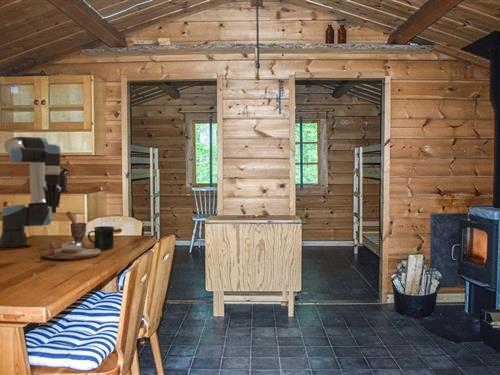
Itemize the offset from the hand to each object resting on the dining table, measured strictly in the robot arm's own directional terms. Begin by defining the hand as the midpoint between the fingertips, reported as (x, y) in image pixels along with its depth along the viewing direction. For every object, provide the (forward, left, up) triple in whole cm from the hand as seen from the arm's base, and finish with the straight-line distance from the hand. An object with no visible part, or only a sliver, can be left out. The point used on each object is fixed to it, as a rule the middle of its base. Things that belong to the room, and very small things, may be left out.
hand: (52, 219), depth 234 cm
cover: (+9, +5, -17) cm, 20 cm away
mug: (+4, +28, -19) cm, 34 cm away
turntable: (+10, +5, -19) cm, 22 cm away
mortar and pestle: (-15, +25, -19) cm, 35 cm away
